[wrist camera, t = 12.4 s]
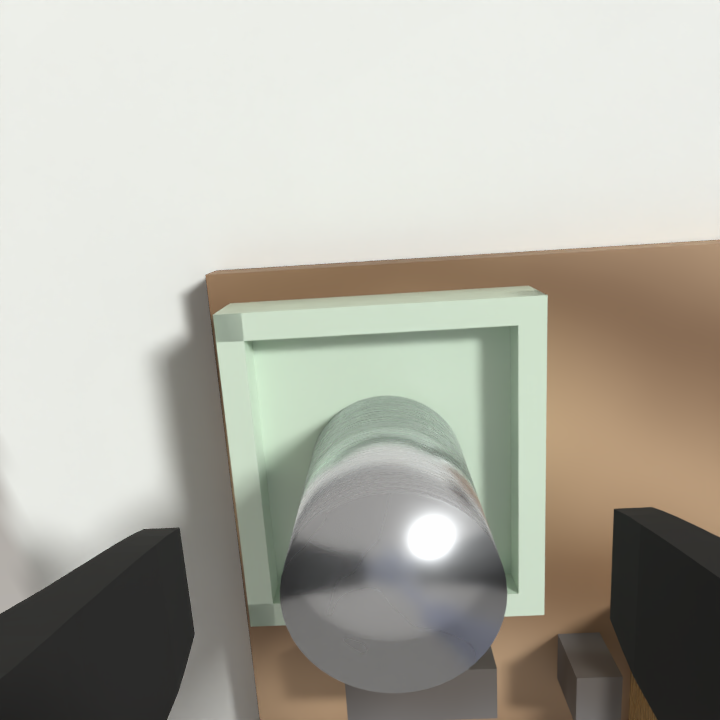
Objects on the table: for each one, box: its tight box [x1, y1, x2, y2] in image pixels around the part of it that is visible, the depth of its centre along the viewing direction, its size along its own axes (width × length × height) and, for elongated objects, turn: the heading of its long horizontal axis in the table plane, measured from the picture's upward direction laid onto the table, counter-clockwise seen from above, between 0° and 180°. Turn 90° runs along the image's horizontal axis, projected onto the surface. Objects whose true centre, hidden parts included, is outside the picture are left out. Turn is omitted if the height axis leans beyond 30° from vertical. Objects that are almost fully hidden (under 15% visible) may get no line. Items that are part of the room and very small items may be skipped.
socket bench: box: [206, 240, 720, 720], centre depth 16 cm, size 18×17×3 cm
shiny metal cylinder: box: [280, 396, 507, 693], centre depth 12 cm, size 4×4×5 cm
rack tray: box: [213, 286, 548, 627], centre depth 15 cm, size 8×7×2 cm
